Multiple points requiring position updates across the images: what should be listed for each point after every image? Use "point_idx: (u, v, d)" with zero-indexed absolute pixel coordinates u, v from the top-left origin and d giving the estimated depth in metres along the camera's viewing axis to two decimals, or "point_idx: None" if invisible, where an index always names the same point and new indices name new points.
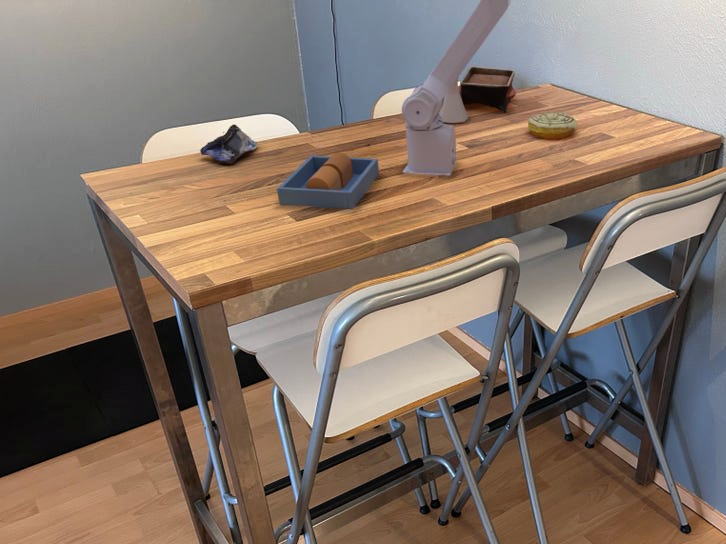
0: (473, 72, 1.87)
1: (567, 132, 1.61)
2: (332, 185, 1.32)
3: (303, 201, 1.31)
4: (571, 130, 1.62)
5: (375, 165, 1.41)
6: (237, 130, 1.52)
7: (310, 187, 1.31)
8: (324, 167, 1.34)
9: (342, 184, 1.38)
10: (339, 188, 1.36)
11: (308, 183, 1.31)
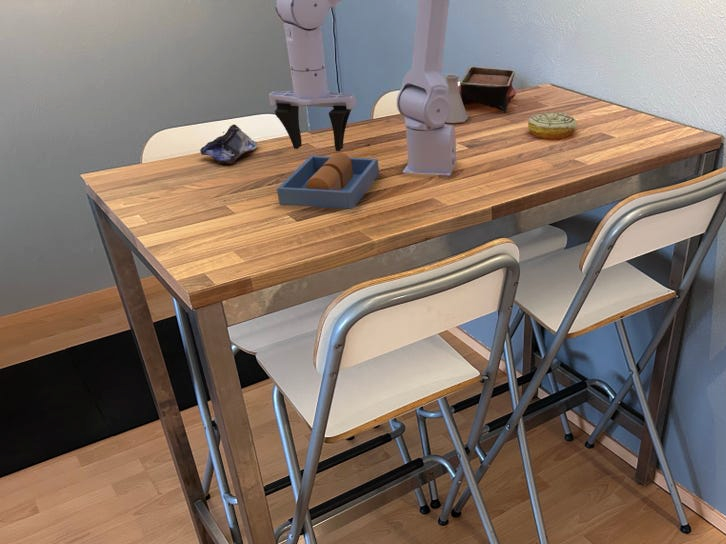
0: (473, 72, 1.87)
1: (567, 132, 1.61)
2: (332, 185, 1.32)
3: (303, 201, 1.31)
4: (571, 130, 1.62)
5: (375, 165, 1.41)
6: (237, 130, 1.52)
7: (310, 187, 1.31)
8: (324, 167, 1.34)
9: (342, 184, 1.38)
10: (339, 188, 1.36)
11: (308, 183, 1.31)
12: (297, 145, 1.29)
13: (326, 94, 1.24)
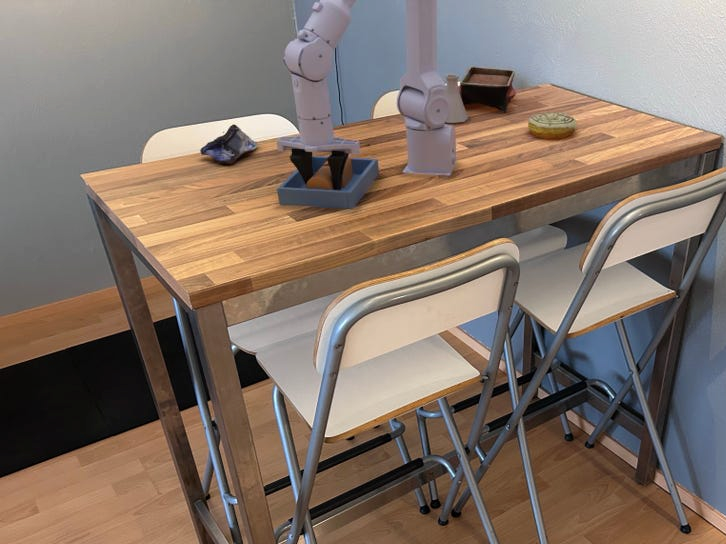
0: (473, 72, 1.87)
1: (567, 132, 1.61)
2: (332, 185, 1.32)
3: (303, 201, 1.31)
4: (571, 130, 1.62)
5: (375, 165, 1.41)
6: (237, 130, 1.52)
7: (310, 187, 1.31)
8: (324, 166, 1.34)
9: (342, 184, 1.38)
10: None
11: (308, 183, 1.31)
12: None
13: (332, 140, 1.28)
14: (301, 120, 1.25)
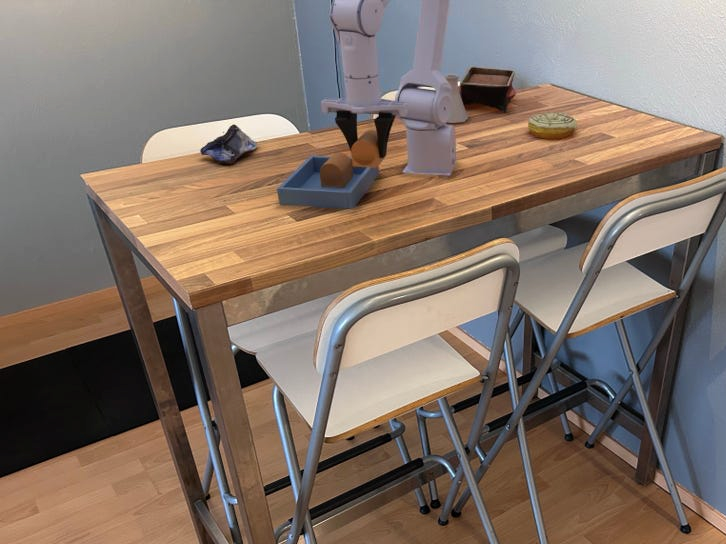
0: (473, 72, 1.87)
1: (567, 132, 1.61)
2: (378, 149, 1.27)
3: (303, 201, 1.31)
4: (571, 130, 1.62)
5: None
6: (237, 130, 1.52)
7: (355, 151, 1.26)
8: (369, 130, 1.29)
9: (342, 184, 1.38)
10: None
11: (353, 147, 1.26)
12: None
13: (379, 101, 1.23)
14: (348, 79, 1.20)
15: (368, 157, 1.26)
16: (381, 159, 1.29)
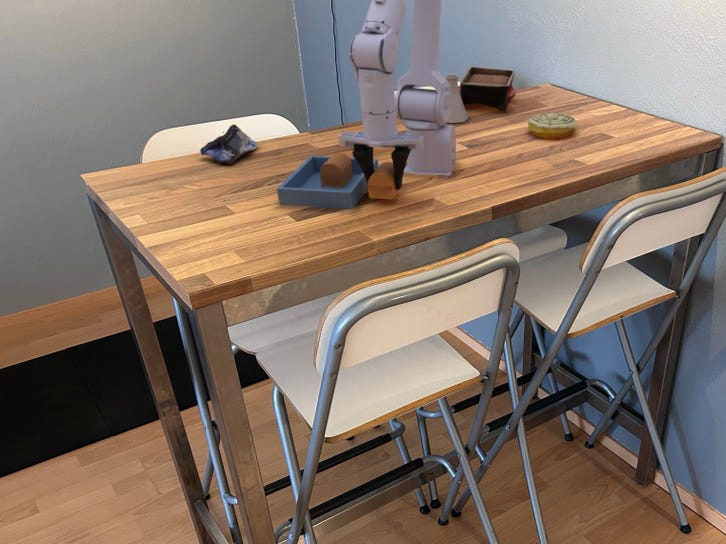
0: (473, 72, 1.87)
1: (567, 132, 1.61)
2: (394, 182, 1.30)
3: (303, 201, 1.31)
4: (571, 130, 1.62)
5: (375, 165, 1.41)
6: (237, 130, 1.52)
7: (372, 183, 1.29)
8: (385, 162, 1.32)
9: (342, 184, 1.38)
10: None
11: (370, 179, 1.29)
12: None
13: (396, 136, 1.26)
14: (366, 115, 1.23)
15: (385, 189, 1.29)
16: (397, 190, 1.32)
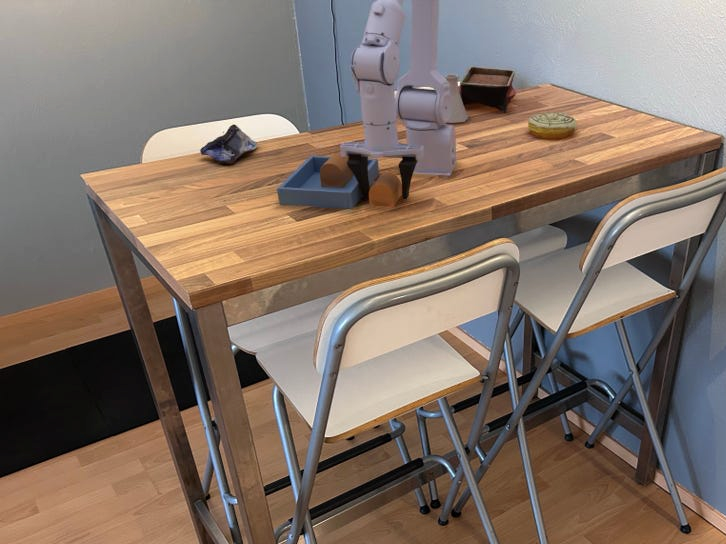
0: (473, 72, 1.87)
1: (567, 132, 1.61)
2: (394, 192, 1.31)
3: (303, 201, 1.31)
4: (571, 130, 1.62)
5: (375, 165, 1.41)
6: (237, 130, 1.52)
7: (373, 194, 1.30)
8: (386, 173, 1.33)
9: (342, 184, 1.38)
10: (400, 195, 1.35)
11: (371, 190, 1.30)
12: (366, 193, 1.33)
13: (396, 146, 1.27)
14: (367, 125, 1.24)
15: (385, 199, 1.30)
16: None
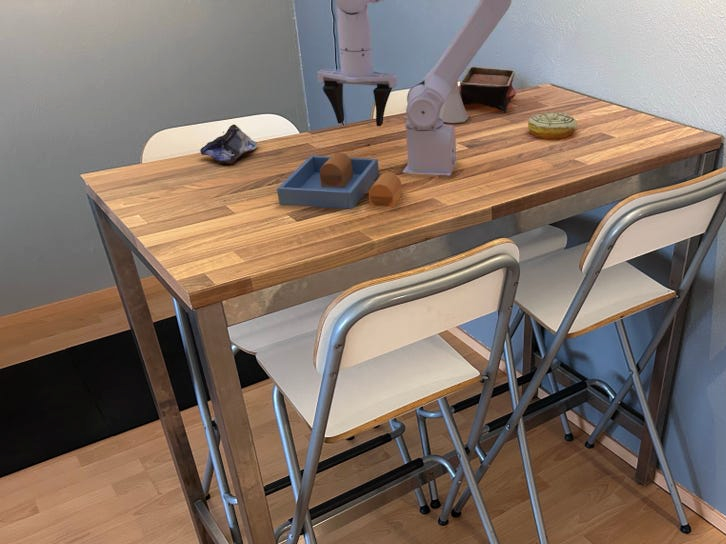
0: (473, 72, 1.87)
1: (567, 132, 1.61)
2: (394, 192, 1.31)
3: (303, 201, 1.31)
4: (571, 130, 1.62)
5: (375, 165, 1.41)
6: (237, 130, 1.52)
7: (373, 194, 1.30)
8: (386, 173, 1.33)
9: (342, 184, 1.38)
10: (400, 195, 1.35)
11: (371, 190, 1.30)
12: (341, 120, 1.41)
13: (371, 73, 1.36)
14: (343, 51, 1.32)
15: (385, 199, 1.30)
16: None
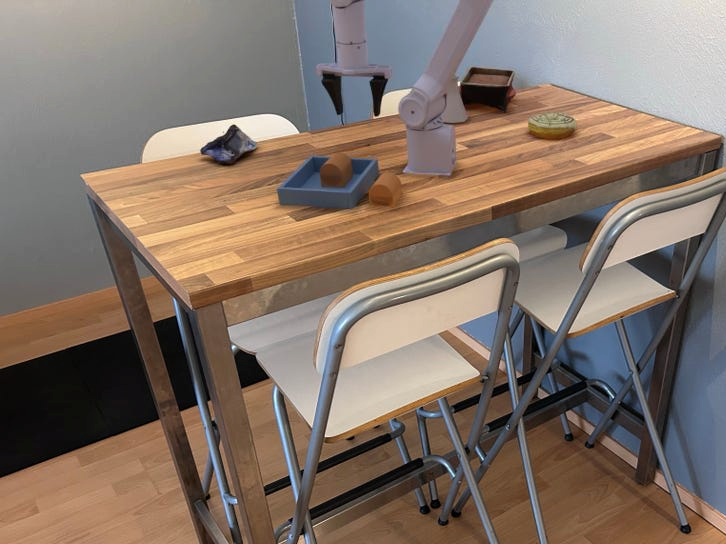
0: (473, 72, 1.87)
1: (567, 132, 1.61)
2: (394, 192, 1.31)
3: (303, 201, 1.31)
4: (571, 130, 1.62)
5: (375, 165, 1.41)
6: (237, 130, 1.52)
7: (373, 194, 1.30)
8: (386, 173, 1.33)
9: (342, 184, 1.38)
10: (400, 195, 1.35)
11: (371, 190, 1.30)
12: (340, 111, 1.46)
13: (367, 65, 1.41)
14: (340, 45, 1.37)
15: (385, 199, 1.30)
16: None
